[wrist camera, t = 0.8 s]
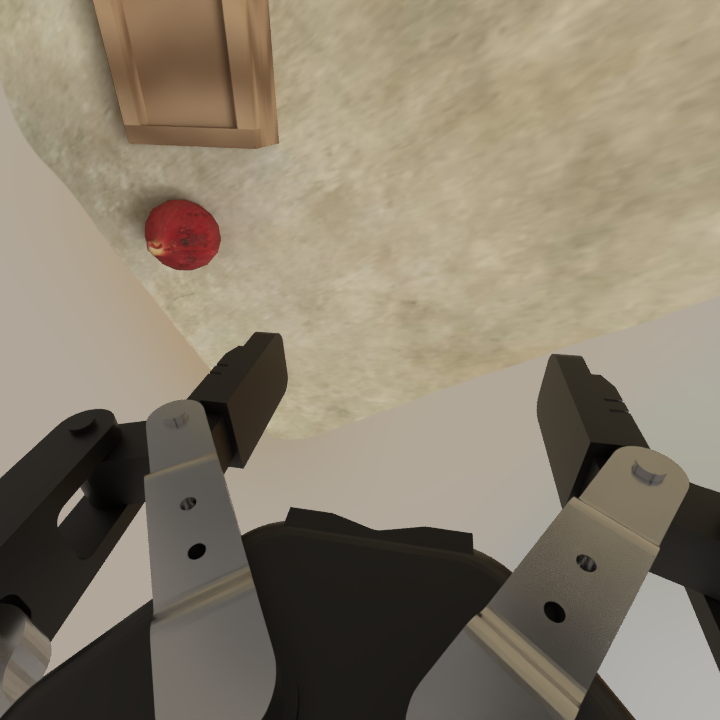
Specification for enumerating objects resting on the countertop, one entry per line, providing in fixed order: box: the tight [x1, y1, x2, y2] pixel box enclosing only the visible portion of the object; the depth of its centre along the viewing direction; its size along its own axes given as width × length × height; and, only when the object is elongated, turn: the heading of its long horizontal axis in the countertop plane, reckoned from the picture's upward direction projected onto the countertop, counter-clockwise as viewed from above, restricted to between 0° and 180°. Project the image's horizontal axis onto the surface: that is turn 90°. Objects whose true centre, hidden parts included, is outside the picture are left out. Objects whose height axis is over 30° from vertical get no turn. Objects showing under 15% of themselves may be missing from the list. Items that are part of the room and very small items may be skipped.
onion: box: [145, 200, 221, 270], centre depth 35 cm, size 6×6×8 cm
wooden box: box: [93, 0, 279, 149], centre depth 29 cm, size 10×10×5 cm
